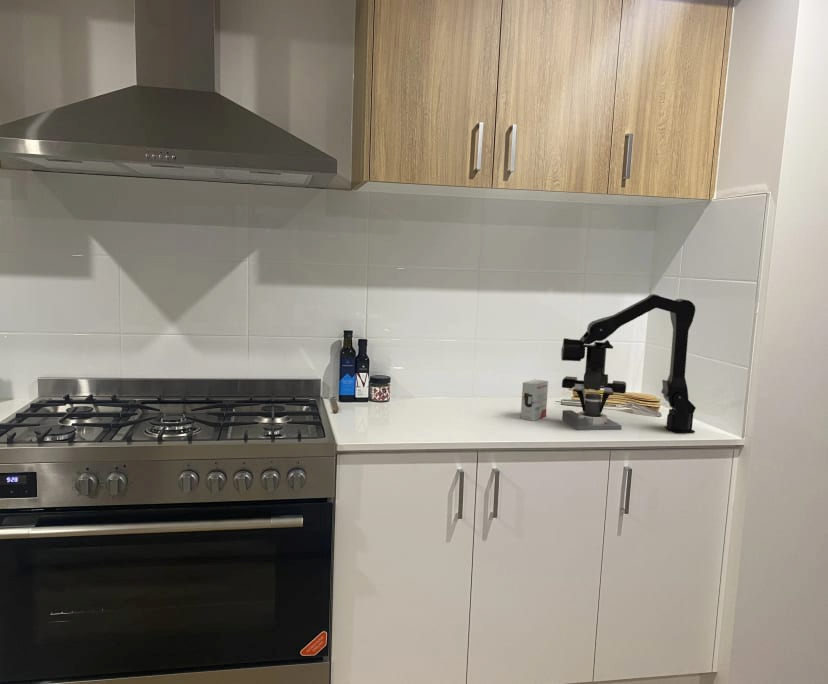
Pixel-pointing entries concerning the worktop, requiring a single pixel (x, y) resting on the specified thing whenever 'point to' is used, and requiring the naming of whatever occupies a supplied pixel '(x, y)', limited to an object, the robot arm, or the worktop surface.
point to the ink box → (534, 399)
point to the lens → (592, 405)
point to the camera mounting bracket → (589, 421)
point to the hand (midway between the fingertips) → (592, 412)
